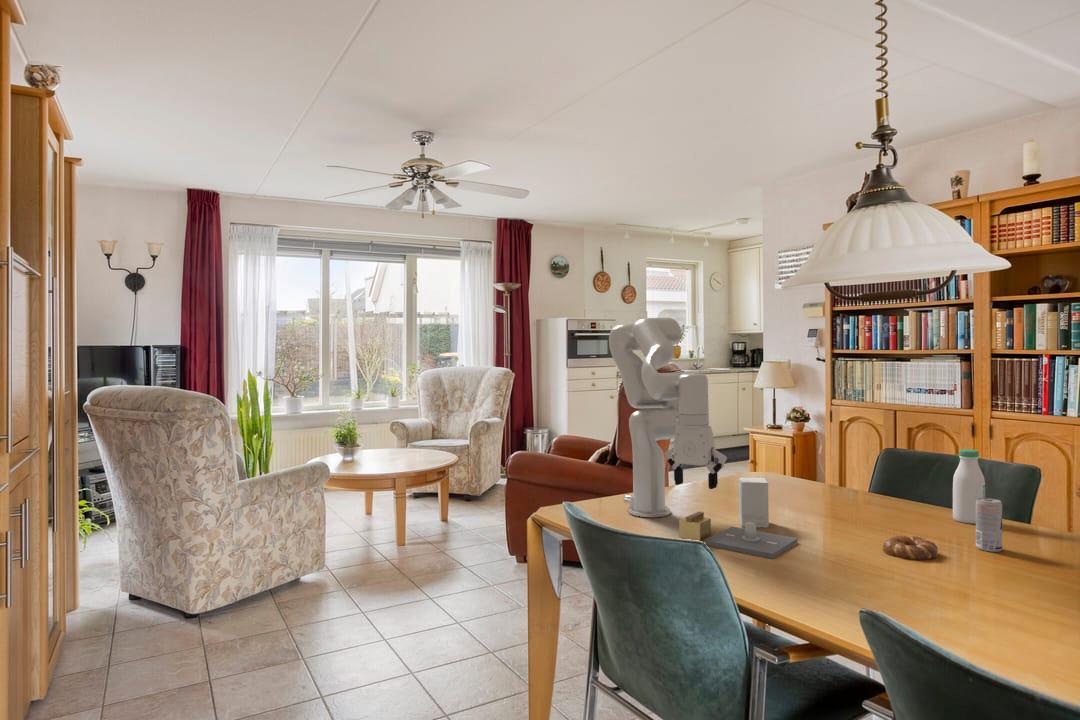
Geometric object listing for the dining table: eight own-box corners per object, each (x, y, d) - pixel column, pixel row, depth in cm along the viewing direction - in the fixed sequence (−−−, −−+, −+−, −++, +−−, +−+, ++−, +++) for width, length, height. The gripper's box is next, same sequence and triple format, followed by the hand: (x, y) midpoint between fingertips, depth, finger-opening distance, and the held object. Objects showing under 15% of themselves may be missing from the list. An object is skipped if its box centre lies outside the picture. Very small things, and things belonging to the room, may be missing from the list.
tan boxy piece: (699, 544, 171) (698, 519, 170) (678, 540, 175) (678, 515, 174) (711, 538, 176) (711, 513, 176) (691, 534, 180) (691, 510, 180)
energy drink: (1001, 547, 164) (1001, 499, 163) (1003, 553, 159) (1003, 503, 159) (975, 544, 166) (975, 496, 166) (976, 550, 162) (976, 501, 161)
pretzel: (891, 561, 156) (890, 545, 156) (876, 547, 167) (876, 532, 167) (946, 562, 154) (946, 546, 154) (928, 548, 165) (928, 533, 165)
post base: (703, 544, 170) (703, 524, 170) (731, 530, 182) (731, 511, 182) (772, 558, 158) (772, 537, 158) (797, 542, 170) (797, 522, 170)
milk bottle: (979, 526, 182) (979, 453, 182) (948, 520, 188) (948, 450, 188) (989, 521, 187) (989, 450, 186) (958, 515, 193) (958, 447, 192)
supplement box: (769, 528, 184) (768, 482, 184) (741, 527, 186) (740, 482, 185) (765, 521, 191) (765, 477, 191) (738, 520, 193) (738, 476, 193)
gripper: (657, 420, 177) (659, 485, 177) (718, 423, 166) (719, 492, 166) (672, 418, 183) (673, 480, 183) (731, 421, 171) (733, 487, 171)
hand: (695, 486), depth 174 cm, fingers open, 9 cm apart
